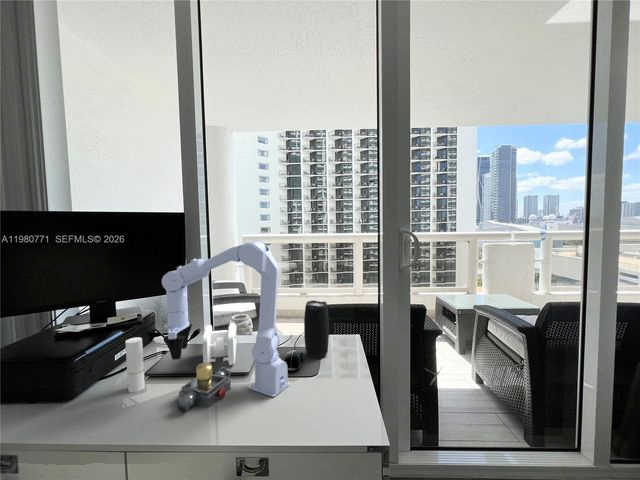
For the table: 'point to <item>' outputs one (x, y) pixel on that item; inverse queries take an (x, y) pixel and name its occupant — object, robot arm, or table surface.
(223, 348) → the cable organizer
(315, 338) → the portable speaker
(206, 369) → the brass cylinder
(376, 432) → the table surface
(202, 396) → the valve body
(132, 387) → the tube
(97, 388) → the table surface
